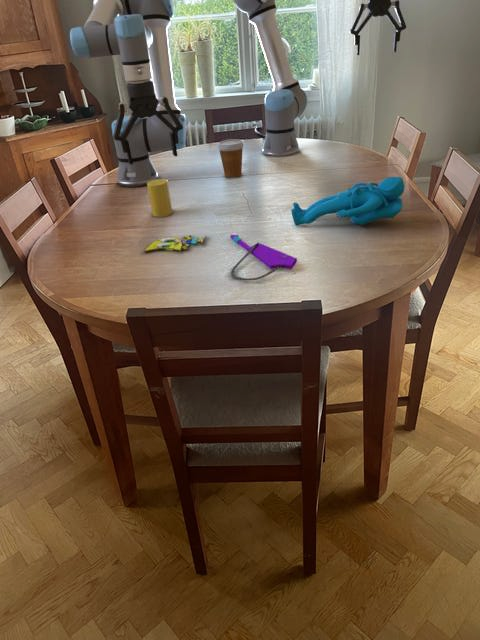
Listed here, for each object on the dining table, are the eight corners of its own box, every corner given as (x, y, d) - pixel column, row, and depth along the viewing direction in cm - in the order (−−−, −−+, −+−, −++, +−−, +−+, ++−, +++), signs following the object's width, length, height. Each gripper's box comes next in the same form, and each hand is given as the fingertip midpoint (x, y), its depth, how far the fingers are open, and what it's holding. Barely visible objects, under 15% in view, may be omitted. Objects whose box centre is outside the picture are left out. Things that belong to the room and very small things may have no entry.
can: (148, 216, 151) (142, 185, 146) (158, 209, 156) (153, 178, 150) (166, 217, 149) (160, 186, 143) (175, 210, 154) (171, 179, 148)
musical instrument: (273, 292, 106) (311, 246, 118) (271, 284, 105) (310, 238, 117) (189, 277, 119) (231, 237, 131) (186, 270, 118) (230, 230, 130)
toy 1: (199, 248, 125) (143, 249, 127) (199, 251, 125) (144, 252, 127) (206, 233, 133) (154, 234, 135) (206, 236, 133) (154, 237, 136)
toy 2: (294, 191, 141) (400, 164, 130) (303, 224, 146) (406, 201, 135) (286, 212, 127) (404, 184, 117) (296, 248, 132) (410, 224, 122)
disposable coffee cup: (216, 178, 179) (213, 145, 172) (226, 170, 186) (223, 138, 180) (240, 179, 176) (237, 145, 169) (249, 171, 183) (247, 139, 176)
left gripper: (95, 89, 126) (113, 170, 137) (186, 76, 132) (196, 154, 144) (92, 85, 131) (109, 163, 143) (179, 73, 138) (189, 149, 150)
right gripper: (346, -12, 169) (343, 56, 181) (419, -19, 167) (412, 51, 178) (343, -11, 176) (341, 55, 187) (414, -18, 173) (407, 49, 184)
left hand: (153, 159), depth 144 cm, fingers open, 13 cm apart
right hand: (376, 53), depth 183 cm, fingers open, 13 cm apart
